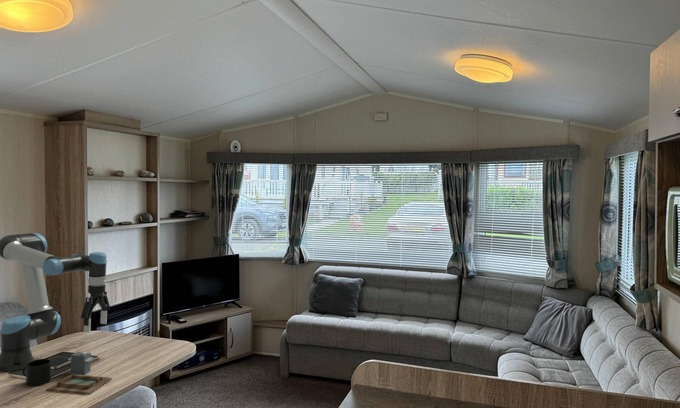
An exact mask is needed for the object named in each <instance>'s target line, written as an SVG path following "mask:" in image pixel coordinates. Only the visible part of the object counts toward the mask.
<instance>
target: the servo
mask: <svg viewBox="0 0 680 408" xmlns="http://www.w3.org/2000/svg"><path fill="white" fill-rule="evenodd" d="M92 360H94V357H92V353H91V352H87V351H76V352H75V353H72V354H71V355H70V357H69V358H67V361H70V375H71V374H77V375H87V374H88V373H90V372H91V368H92V367H91V363H92V362H91V361H92Z"/></svg>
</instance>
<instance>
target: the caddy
mask: <svg viewBox="0 0 680 408" xmlns="http://www.w3.org/2000/svg"><path fill="white" fill-rule="evenodd" d="M110 380H111V381H112V377H109V376H107V377H106V376H98V375H97V376H96V375H87V374H85V375H79V374H71V373H70V374H69V375H68V376H66V377H64V378H63V379H61V380H59V381H58V382H55V383H54V384H52V385H50V386H49V387H47V388H46V391H47V392H55V393H66V394H78V395H86V394H90V395H92V394H93V393H94V392H96V391H98V390H99V389H101V388H102V387H103V386H105V385H106V384H107V382H108V383H109V382H111V381H110ZM104 384H105V385H104ZM101 386H102V387H101ZM98 388H99V389H98ZM95 390H96V391H95ZM91 393H92V394H91Z"/></svg>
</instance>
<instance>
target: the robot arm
mask: <svg viewBox="0 0 680 408" xmlns="http://www.w3.org/2000/svg"><path fill="white" fill-rule="evenodd" d="M47 250H48V242H47V240H46V237H45V236H43V235H42V234H41V233H38V232H37V233H36V232H33V233H32V232H27V233H19V234H18V233H17V234H9V235H4V236H3V237H1V238H0V258H2V259H3V260H4V259H5V260H7V261H17V262H18V263H19V264H21V267H22V268H21V269H22V273H23V280H24V284H25V292H26V297H27V302H28V303H27V304H28V309H29V310H28V311H27V313H26V314H21V315H16V316H11V317H9V318H7V319H5V320H4V321H3V322H2V324H1V329H0V333H1V337H0V338H1V342H0V344H1V345H0V348H1V349H0V372H13V371H15V372H16V371H20V369H21V370H23V368H25V367H26V365H27V363H28V362H30V361H33V360H35V358H34V356H33V353H32V350H31V341H35V340H38V339H40V338H45V337H49V336H50V335H54V334H55V333H56V332H57V331H59V329H60V327H61V322H62V319H61V315H60V314H59V313H58V311H55V310H54V307H52V306H51V305H50V304H49V297H48V292H47V286H46V281H45V276H44V275H46V276H58V275H63V274H69V273H73V272H80V271H81V272H82V271H84V272H88V276H87V277H88V282H87V283H88V286H87V293H88V294H89V296H86V297H85V303H84V306H83V308H82V312H81V314H80V315H81V316H80V319H83V332H84V333H91V315H92V313H93V311H94V309H95V307H96V306H97V305H99V306H100V308H101V310H100V324H102V325H107V322H108V321H107V319H108V318H107V317H108V311H110V308H111V305H110V302H109V298H108V293H107V291H106V282H107V281H106V280H107V277H106V276H107V275H106V274H107V262H108V261H107V253H106V252H101V251H100V252H99V251H96V252H90V253H89V255H87V254H82V253H75V254H72V255H71V256H66V257H59V256H56V255H53V254H49V253H47Z"/></svg>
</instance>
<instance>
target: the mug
mask: <svg viewBox="0 0 680 408" xmlns="http://www.w3.org/2000/svg"><path fill="white" fill-rule="evenodd" d="M21 370H22V371H21V373H22V375H23V376H24V377H25V379H26V380H25V381H26V382H25V385H26V386H29V387H39V386H43V385H46V384H49V382H51V380H52V378H51V376H52V375H51V374H52V360H51V359H49V358H39V359H34V360H33V361H30V362H28V363H27V365H26V367H25V368H23V369H21ZM25 371H26V373H25Z"/></svg>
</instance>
